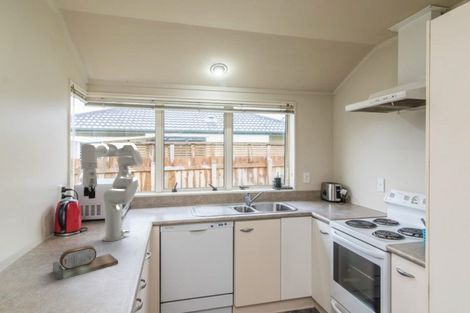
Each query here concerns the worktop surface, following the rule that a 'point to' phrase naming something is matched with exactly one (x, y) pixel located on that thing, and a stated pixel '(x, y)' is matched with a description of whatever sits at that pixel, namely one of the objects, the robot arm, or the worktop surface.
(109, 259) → the mounting board
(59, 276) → the bracket
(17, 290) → the worktop surface
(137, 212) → the worktop surface
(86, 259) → the tin
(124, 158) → the robot arm
